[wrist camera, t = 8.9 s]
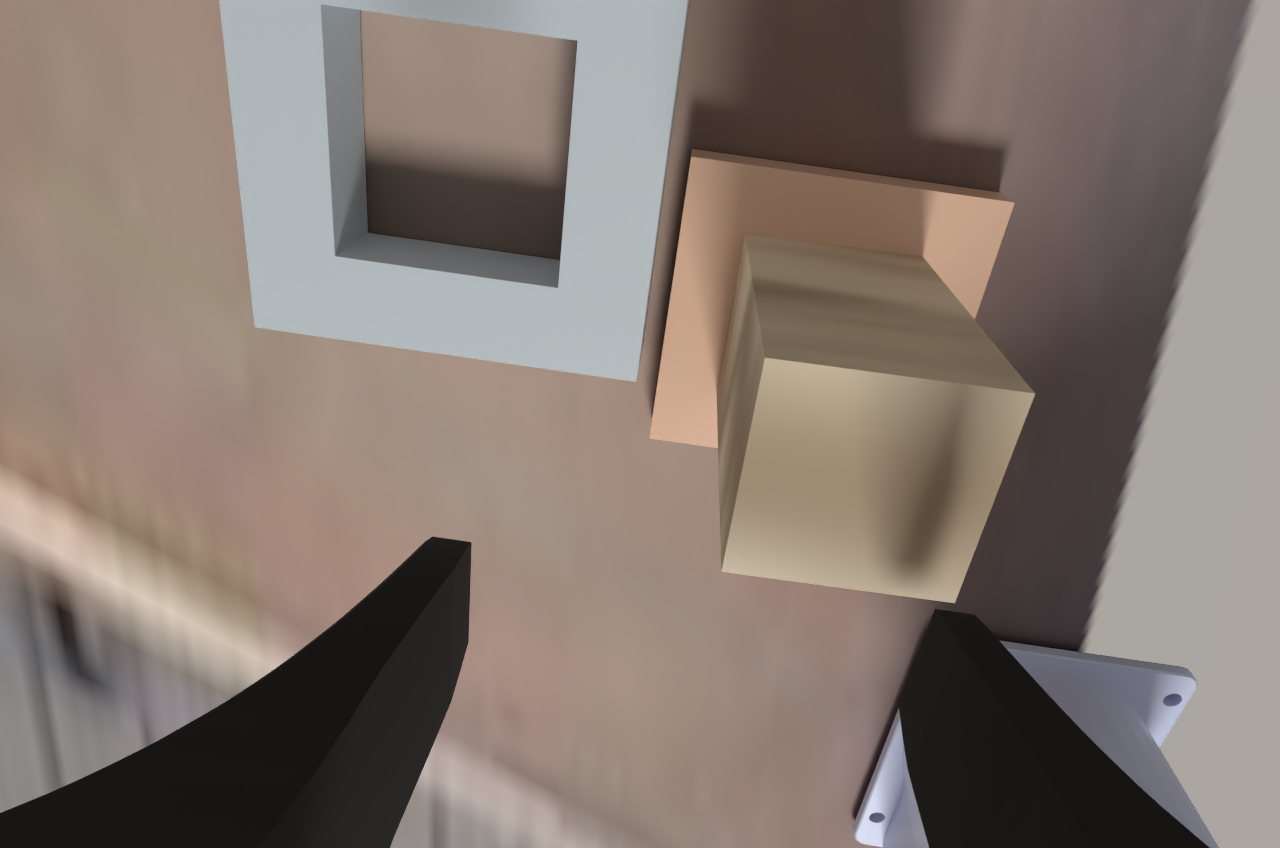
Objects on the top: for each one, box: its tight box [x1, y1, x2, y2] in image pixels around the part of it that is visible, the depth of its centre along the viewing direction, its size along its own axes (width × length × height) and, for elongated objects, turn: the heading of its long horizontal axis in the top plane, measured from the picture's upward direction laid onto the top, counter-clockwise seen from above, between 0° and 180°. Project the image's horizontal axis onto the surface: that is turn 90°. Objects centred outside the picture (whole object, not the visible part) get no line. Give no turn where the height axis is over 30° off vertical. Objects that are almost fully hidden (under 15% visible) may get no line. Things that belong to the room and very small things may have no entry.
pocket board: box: [219, 0, 690, 382], centre depth 18 cm, size 9×9×2 cm
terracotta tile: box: [649, 149, 1015, 448], centre depth 20 cm, size 7×7×1 cm
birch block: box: [717, 233, 1035, 603], centre depth 16 cm, size 4×4×7 cm
